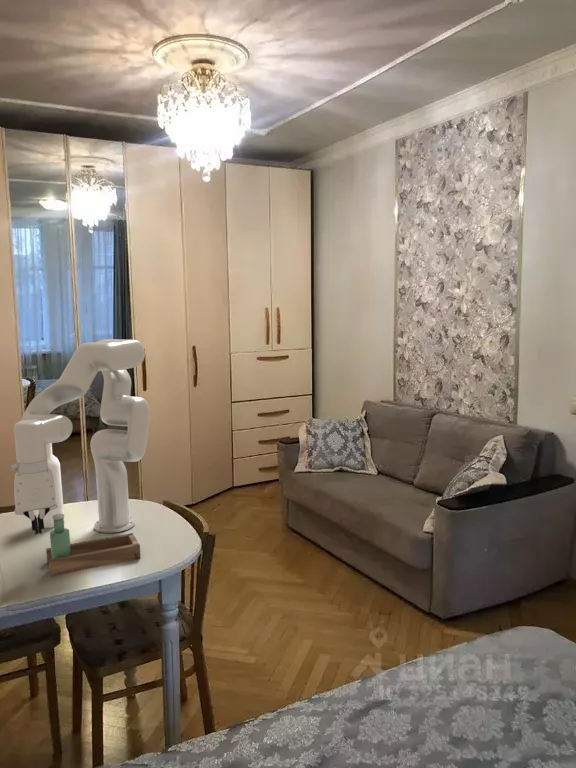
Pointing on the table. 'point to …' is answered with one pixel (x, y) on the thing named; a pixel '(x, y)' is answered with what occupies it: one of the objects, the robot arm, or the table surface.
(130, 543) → the u rest
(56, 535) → the bottle
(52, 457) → the bottle
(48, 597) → the table surface
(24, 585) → the table surface
